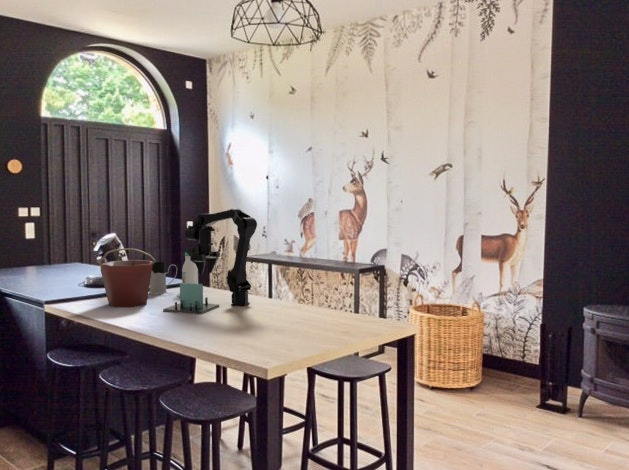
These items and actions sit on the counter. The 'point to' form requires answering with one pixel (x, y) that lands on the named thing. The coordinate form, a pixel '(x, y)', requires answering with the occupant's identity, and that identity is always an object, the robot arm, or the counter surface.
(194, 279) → the milk bottle
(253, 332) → the counter surface
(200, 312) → the dish rack
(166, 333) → the counter surface
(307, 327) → the counter surface
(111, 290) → the bucket
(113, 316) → the counter surface
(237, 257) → the robot arm
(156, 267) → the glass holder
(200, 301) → the teal plate
